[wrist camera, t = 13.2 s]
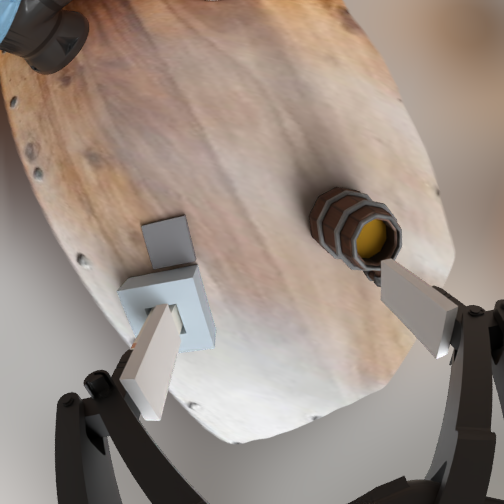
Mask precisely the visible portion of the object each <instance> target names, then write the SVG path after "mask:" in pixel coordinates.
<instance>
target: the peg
mask: <svg viewBox="0 0 504 504" xmlns="http://www.w3.org/2000/svg"><path fill="white" fill-rule="evenodd" d="M168 306H169V309H170V312H171V314H172V317H173V320H174V323H175V325H176V328H177V331H178V334H179V335H180V332H181V329H182V326H183V322H182V319H181V316H180V313H179V310H178V307H177V304H172V305H168ZM154 308H155V307H153V308H152V309H151V311H150V313H149V315H148V317H147V319H146V320H145V322H144V324H143V326H142V328H141V330H140V332H139V334H138V336H137V338H136V339H135V341H134V343H133V345H132V347H131V349H134V348H135V346H136V344H137V342H138V340H139V338H140V336H141V334H142V332H143V330H144V328H145V326H146V324H147V322H148V320H149V318H150V316H151V314H152V312H153V310H154Z"/></svg>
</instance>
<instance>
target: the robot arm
mask: <svg viewBox="0 0 504 504" xmlns="http://www.w3.org/2000/svg"><path fill="white" fill-rule="evenodd" d="M70 1H72V0H0V50H3V51H6V52H9V53H12V54H15V55H17V56H20V57H23V58H24V59H25V60H26V62H27V63H28V64H29V65H30V67H31V68H32V69H33V70H34V71H36V72H38V73H41V74H45V75H47V74H52V73H55V72H57V71H59V70H60V69H62V68H63V67H65V66H66V65H67V64H68V63H69V62H70V61H72V59H73V58H74V57H75V56H76V55H77V54H78V52H79V51H80V50H81V48H82V46H83V45H84V43H85V41H86V39H87V36H88V32H89V22H88V20H87V19H86V18H85V17H84V16H83V15H82V14H80V13H79V12H74V11H67V10H63V9H62V8H63V7H64V6H65V5H67V4H68V3H69V2H70ZM381 301H382V302H383V303H384V304H385V305H386V306H387V307H388V308H389V309H390V310H391V311H392V312H393V313H394V314H395V315H396V316H397V317H398V318H399V319H400V320H401V321H402V322H403V323H404V325H405V326H406V327H407V328H408V329H409V330H410V331H411V332H412V333H413V334H414V335H415V336H416V337H417V339H418V340H419V341H420V342H421V343H422V344H423V345H424V346H425V347H426V348H427V349H428V351H429V352H430V353H431V354H432V355H433V356H434V357H435V358H436V359H438V358H440V357H442V356H444V355H446V354H447V353H448V349H449V346H450V344H451V345H452V346H453V347H454V351H453V354H452V358H451V361H450V364H449V365H451V364H452V366H451V375H450V383H449V390H448V396H447V402H446V408H445V413H444V418H443V423H442V428H441V432H440V436H439V440H438V443H437V447H436V451H435V454H434V458H433V461H432V464H431V467H430V469H429V471H428V473H427V475H426V477H425V479H424V480H410V481H406V478H405V476H403V477H400V478H398V479H396V480H393V481H391V482H389V483H386V484H383V485H381V486H378V487H376V488H374V489H373V490H371V491H369V492H368V493H366V494H364V495H363V496H361V497H359V498H357V499H356V500H354V501H352V502H350V503H348V504H504V500H500V499H495V498H491V497H486V494H487V489H488V485H489V481H490V476H491V471H492V465H493V459H494V452H495V444H496V434H495V433H494V432H493V433H492V432H491V417H492V375H493V378H494V382H495V385H496V389H497V392H498V396H499V400H500V404H501V408H502V413H503V418H504V300H498V301H497V302H496V304H495V308H494V310H491V311H485V310H484V309H482V308H481V307H479V306H475V305H469V306H467V307H466V306H465V305H463V304H462V303H461V302H460V301H458V300H457V299H456V298H454V297H452V296H451V295H450V294H448V293H447V292H446V291H444V290H443V289H442V288H439V287H436V286H430V285H429V284H427V283H426V282H425V281H423V280H422V279H420V278H419V277H418V276H416V275H415V274H413V273H412V272H410V271H409V270H408V269H406V268H405V267H403V266H402V265H400V264H399V263H397V262H396V261H394V260H393V259H386V260H382V261H381ZM180 344H181V339H180V336H179V334H178V331H177V328H176V325H175V323H174V320H173V317H172V314H171V312H170V309H169V306H168V304H162V305H156V307H155V308H154V310H153V312H152V314H151V316H150V318H149V320H148V322H147V324H146V326H145V328H144V330H143V332H142V334H141V336H140V338H139V340H138V342H137V344H136V346H135V348H134V349H130V350H128V351H126V352H125V354H124V355H122V357H121V359H120V361H119V363H118V365H117V367H116V369H115V371H114V373H113V375H112V377H110V375H109V373H108V372H107V371H104V370H97V371H95V372H93V373H91V374H89V375H88V376H87V377H86V378H85V380H84V386H85V388H86V390H87V391H88V393H89V394H90V395H91V397H90V398H86V399H81V398H80V397H79V396H78V394H76V393H73V392H71V393H67V394H65V395H63V396H62V397H61V398H60V399H59V401H58V404H57V413H56V431H55V471H56V487H57V496H58V504H122V501H121V498H120V494H119V490H118V486H117V483H116V479H115V475H114V470H113V466H112V461H111V456H110V451H109V445H108V439H107V436H110V437H111V438H112V440H113V442H114V444H115V446H116V448H117V449H118V451H119V453H120V455H121V457H122V458H123V460H124V462H125V463H126V465H127V467H128V468H129V470H130V472H131V473H132V475H133V477H134V478H135V480H136V481H137V483H138V484H139V486H140V487H141V489H142V490H143V492H144V493H145V494H146V496H147V497H148V499H149V500H150V501H151V503H152V504H209V503H208V502H207V501H206V500H205V499H204V498H203V497H202V496H201V495H200V494H199V493H198V492H197V491H196V490H195V489H194V487H193V486H192V485H191V484H190V483H189V482H188V481H187V480H186V479H185V478H184V477H183V476H182V474H181V473H180V472H179V471H178V470H177V469H176V468H175V466H174V465H173V464H172V463H171V462H170V461H169V459H168V458H167V457H166V456H165V454H164V453H163V452H162V451H161V449H160V448H159V447H158V445H157V444H156V443H155V441H154V440H153V439H152V437H151V436H150V435H149V434H148V432H147V431H146V429H145V428H144V427H143V425H142V424H141V422H140V421H139V416H140V413H141V414H142V416H143V417H144V419H145V420H146V421H160V420H161V416H162V412H163V408H164V404H165V400H166V396H167V392H168V388H169V384H170V380H171V377H172V373H173V369H174V365H175V362H176V358H177V354H178V351H179V347H180Z"/></svg>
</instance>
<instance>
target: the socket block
mask: <svg viewBox="0 0 504 504" xmlns="http://www.w3.org/2000/svg"><path fill="white" fill-rule="evenodd" d="M117 293H118V296H119V298H120V301H121V303H122V306H123V309H124V311H125V313H126V316H127V318H128V321H129V323H130V325H131V328H132V330H133V332H134V335H135V337H136V338H137V336H138V334H139V332H140V330H141V328H142V326H143V324H144V322H145V320H146V319H147V317H148V315H149V313H150V311H151V309H152V308H153V307H156V305H162V304H168V305H172V304H177V307H178V310H179V313H180V316H181V319H182V322H183V326H182V329H181V332H180V335H179V336H180V339H181V344H180V347H179V351H178V353H182V352H190V351H198V350H206V349H213V348H215V339H216V327H215V324H214V321H213V317H212V314H211V310H210V307H209V303H208V300H207V296H206V293H205V289H204V286H203V282H202V278H201V275H200V271H199V267H198V265H193V266H188V267H182V268H177V269H172V270H167V271H162V272H156V273H151V274H146V275H141V276H136V277H130V278H128V279H127V280H126V281H125V282H124V284H123V285H122V286H121V287H120V288H119V289H118V290H117Z"/></svg>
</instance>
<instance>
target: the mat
mask: <svg viewBox="0 0 504 504" xmlns="http://www.w3.org/2000/svg"><path fill="white" fill-rule="evenodd" d="M141 228H142V232H143V235H144V239H145V243H146V246H147V250H148V253H149V256H150V260H151V263H152V266H153V269H158V268H163V267H168V266H173V265H178V264H184V263H189V262H194V261H196V256H195V252H194V248H193V244H192V240H191V236H190V232H189V228H188V223H187V219H186V215H184V216H179V217H175V218H171V219H166V220H162V221H158V222H154V223H150V224H146V225H142V226H141Z"/></svg>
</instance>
